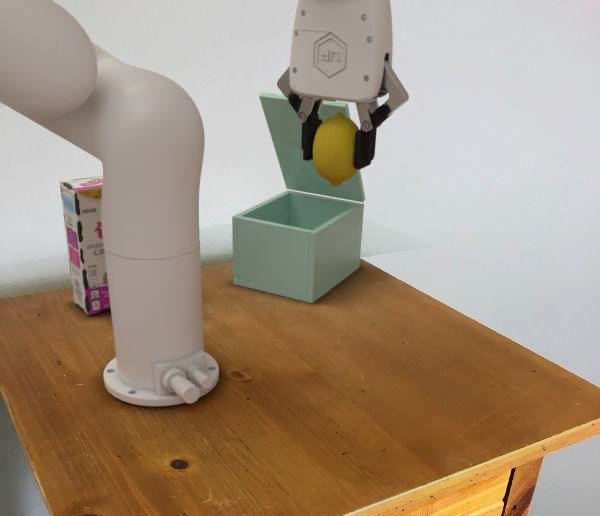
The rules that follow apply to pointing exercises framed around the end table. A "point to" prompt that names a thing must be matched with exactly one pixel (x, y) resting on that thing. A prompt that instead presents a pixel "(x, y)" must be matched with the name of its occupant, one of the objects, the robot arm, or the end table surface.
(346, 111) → the lid
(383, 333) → the end table surface
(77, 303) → the candy bar box
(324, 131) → the lemon
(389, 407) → the end table surface
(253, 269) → the green box
